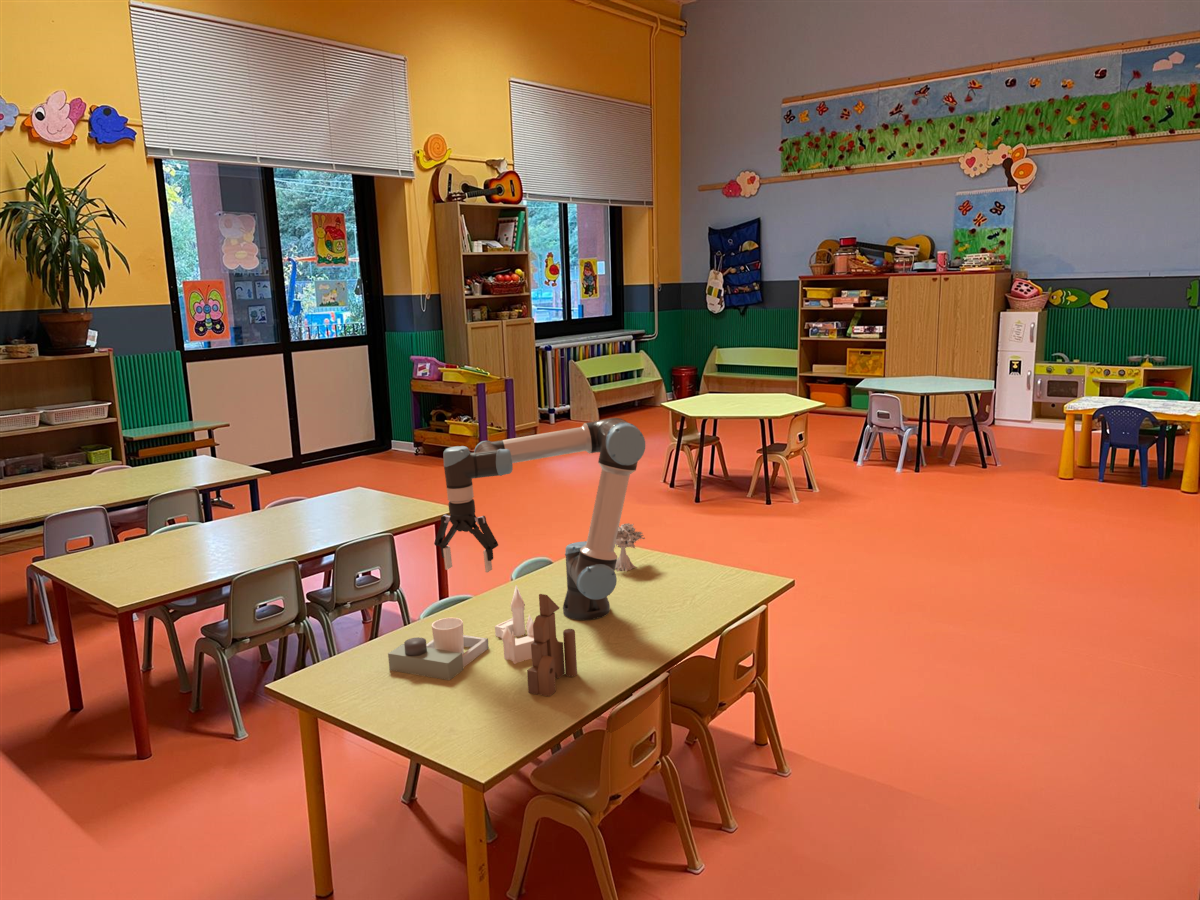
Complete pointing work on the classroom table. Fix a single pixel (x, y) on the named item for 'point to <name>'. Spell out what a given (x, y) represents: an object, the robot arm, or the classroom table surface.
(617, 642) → the classroom table surface
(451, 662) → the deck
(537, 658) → the wooden toy
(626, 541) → the tree
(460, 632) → the mug
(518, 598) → the toy castle
